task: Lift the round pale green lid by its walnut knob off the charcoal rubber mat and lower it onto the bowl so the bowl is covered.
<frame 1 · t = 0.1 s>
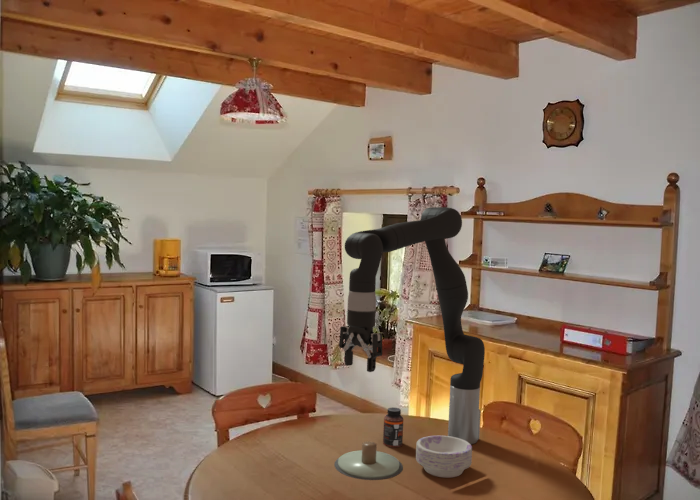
hand: (359, 368, 166), 29 cm above the table, tool pointing down, fingers open, 8 cm apart
supplement bottle: (392, 446, 189), on the table
mat: (368, 467, 172), on the table
lid: (368, 465, 172), point 1 cm above the table, touching mat
paper bowls: (442, 472, 171), on the table
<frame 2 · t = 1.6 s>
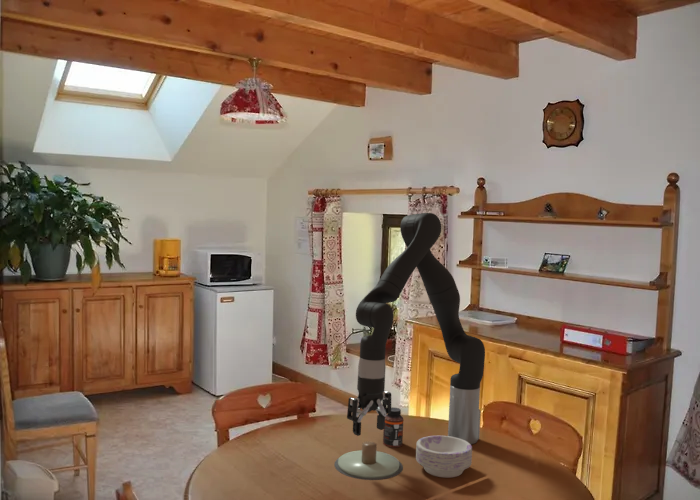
hand: (368, 431, 172), 10 cm above the table, tool pointing down, fingers open, 8 cm apart
nothing on the table moved.
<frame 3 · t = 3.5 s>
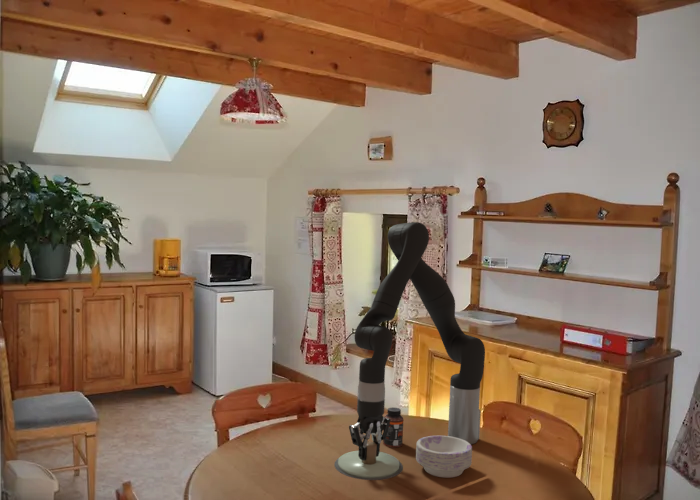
hand: (368, 457, 172), 3 cm above the table, tool pointing down, fingers closed on lid, 4 cm apart
lid: (368, 465, 172), point 1 cm above the table, touching gripper, mat
everything else where it was.
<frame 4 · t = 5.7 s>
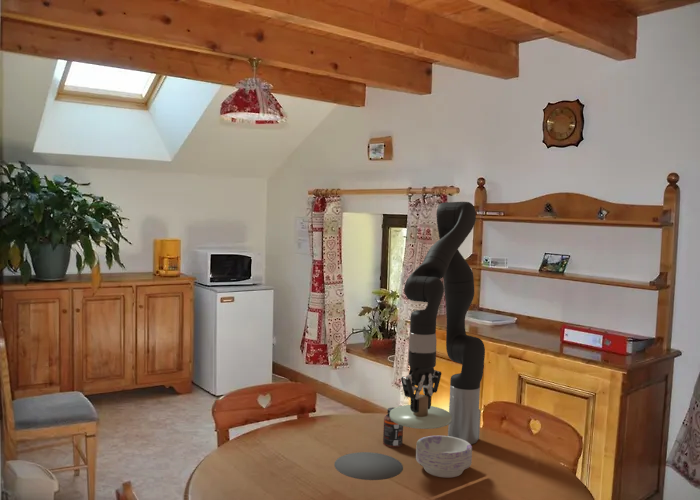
hand: (420, 409, 171), 17 cm above the table, tool pointing down, fingers closed on lid, 4 cm apart
lid: (420, 417, 171), point 15 cm above the table, touching gripper
everything else where it was.
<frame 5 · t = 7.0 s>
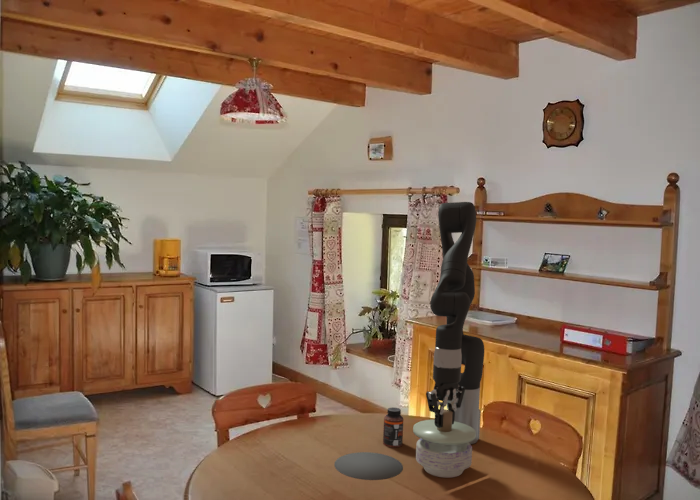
hand: (444, 425, 171), 13 cm above the table, tool pointing down, fingers closed on lid, 4 cm apart
lid: (444, 433, 171), point 11 cm above the table, touching gripper
everything else where it was.
when the fingers open (12 cm above the table, at t = 7.9 s): lid drops 2 cm, resting on paper bowls.
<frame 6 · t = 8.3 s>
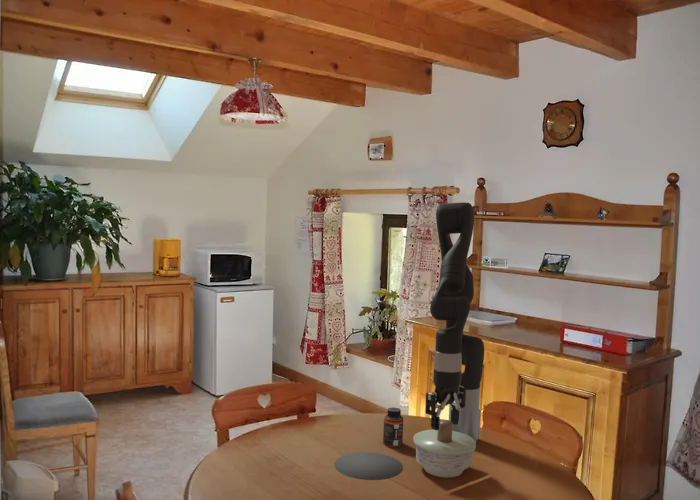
hand: (444, 426, 171), 13 cm above the table, tool pointing down, fingers open, 7 cm apart
lid: (444, 443, 171), point 8 cm above the table, touching paper bowls
paper bowls: (442, 472, 171), on the table, touching lid
everything else where it was.
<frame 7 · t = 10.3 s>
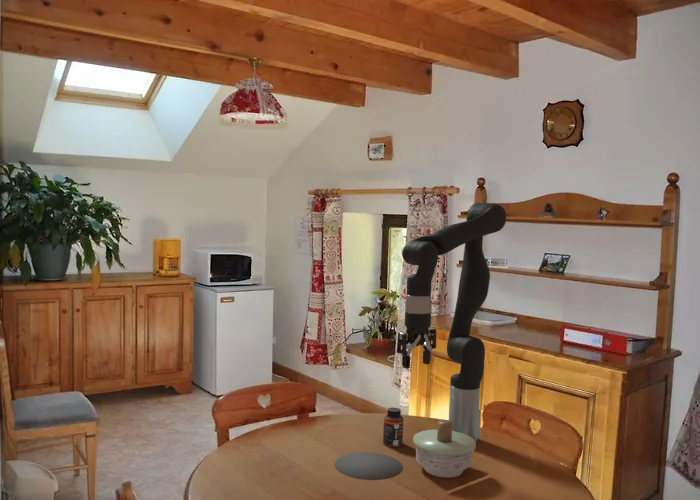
hand: (416, 366, 180), 27 cm above the table, tool pointing down, fingers open, 8 cm apart
nothing on the table moved.
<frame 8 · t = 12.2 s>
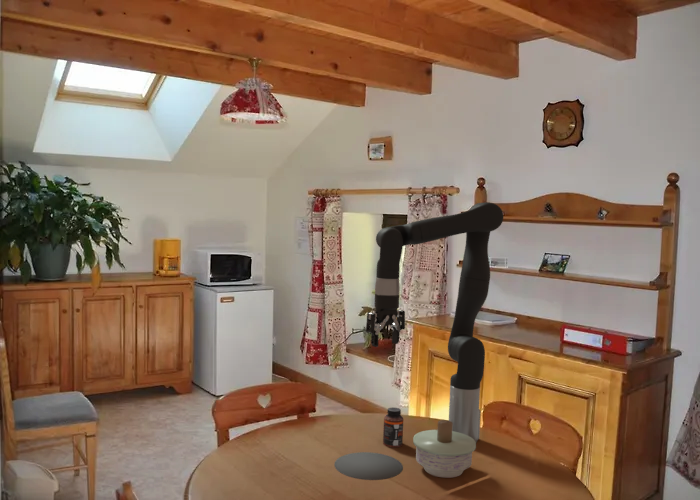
hand: (385, 344, 192), 30 cm above the table, tool pointing down, fingers open, 8 cm apart
nothing on the table moved.
at the end: lid 0.1 cm off-centre on the paper bowls, point 8.1 cm above the paper bowls's base; lid tilted 0°; the gripper is holding nothing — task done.
